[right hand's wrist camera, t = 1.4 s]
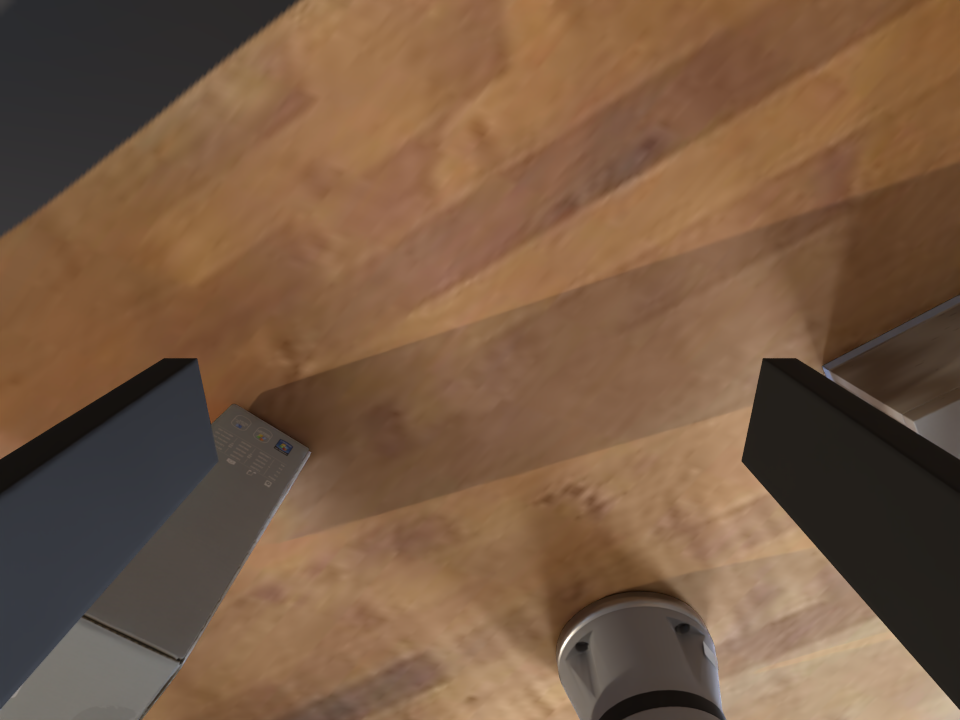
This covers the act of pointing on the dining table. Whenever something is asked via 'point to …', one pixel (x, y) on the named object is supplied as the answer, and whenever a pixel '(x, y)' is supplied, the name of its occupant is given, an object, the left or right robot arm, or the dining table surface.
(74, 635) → the hard drive box
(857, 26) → the dining table surface
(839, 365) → the cabinet
